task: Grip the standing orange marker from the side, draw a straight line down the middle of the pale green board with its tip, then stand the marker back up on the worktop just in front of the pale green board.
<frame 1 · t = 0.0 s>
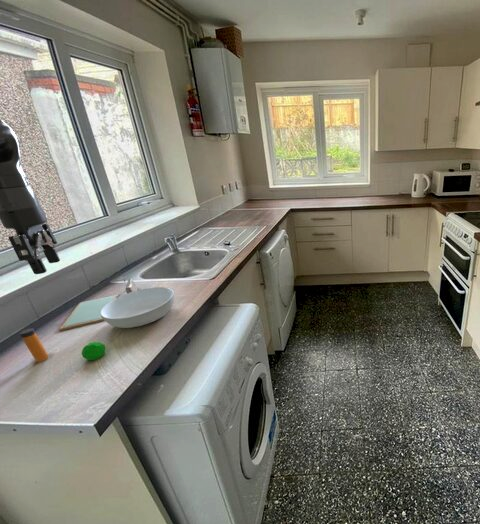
hand: (48, 267, 75), 26 cm above the worktop, tool pointing down, fingers open, 8 cm apart
pale green board: (92, 312, 105), on the worktop
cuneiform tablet: (133, 295, 117), on the worktop
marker: (43, 360, 82), on the worktop
serving bowl: (145, 318, 100), on the worktop
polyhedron: (97, 358, 81), on the worktop
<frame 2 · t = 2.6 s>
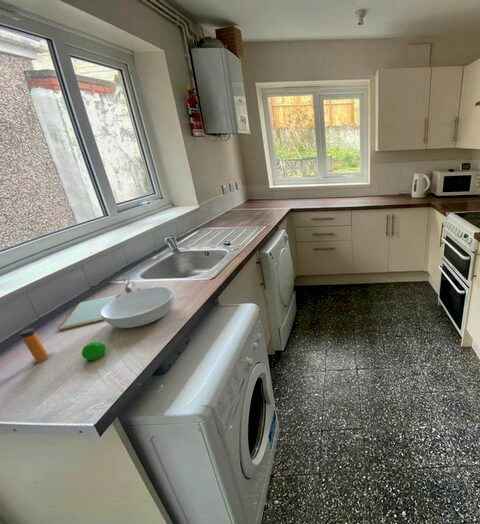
nothing on the worktop moved.
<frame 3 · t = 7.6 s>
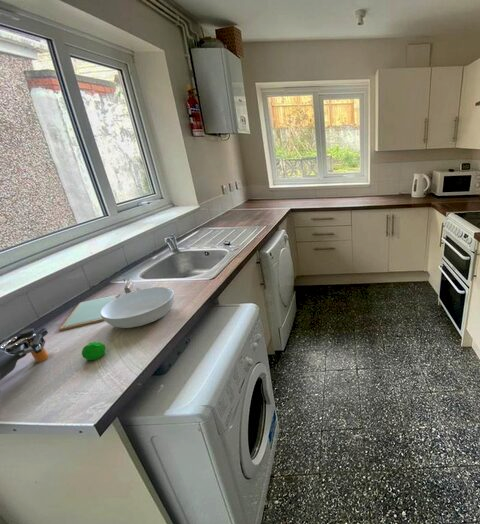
hand: (38, 331, 81), 8 cm above the worktop, tool horizontal, fingers closed on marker, 2 cm apart
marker: (43, 360, 82), on the worktop, touching gripper
everything else where it was.
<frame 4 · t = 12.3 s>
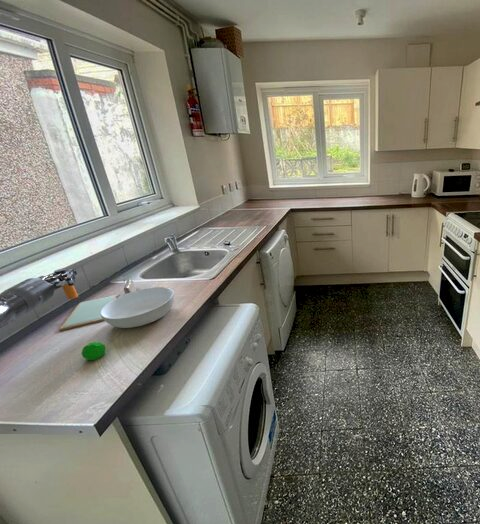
hand: (68, 272, 94), 18 cm above the worktop, tool horizontal, fingers closed on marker, 2 cm apart
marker: (73, 297, 95), point 10 cm above the worktop, touching gripper
everything else where it was.
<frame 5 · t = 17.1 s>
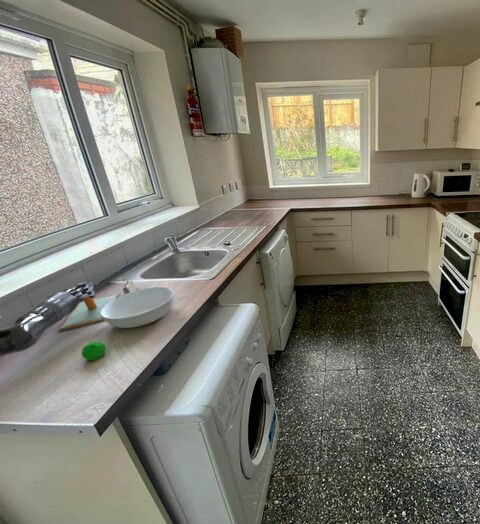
hand: (88, 285, 105), 9 cm above the worktop, tool horizontal, fingers closed on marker, 2 cm apart
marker: (92, 307, 106), point 1 cm above the worktop, touching gripper
everything else where it was.
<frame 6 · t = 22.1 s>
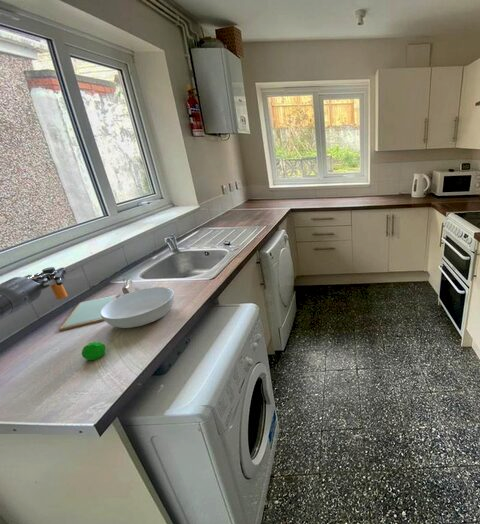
hand: (57, 271, 91), 20 cm above the worktop, tool horizontal, fingers closed on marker, 2 cm apart
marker: (62, 297, 91), point 12 cm above the worktop, touching gripper
everything else where it was.
when the fingers open (8 cm above the worktop, at t = 26.4 s): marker stays where it is, on the worktop.
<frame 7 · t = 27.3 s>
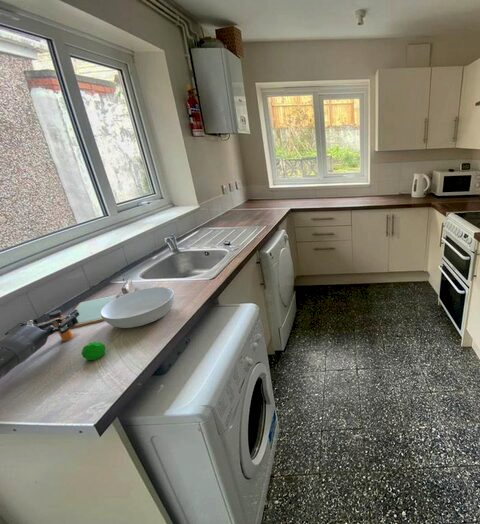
hand: (61, 314, 89), 8 cm above the worktop, tool horizontal, fingers open, 8 cm apart
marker: (68, 339, 90), on the worktop
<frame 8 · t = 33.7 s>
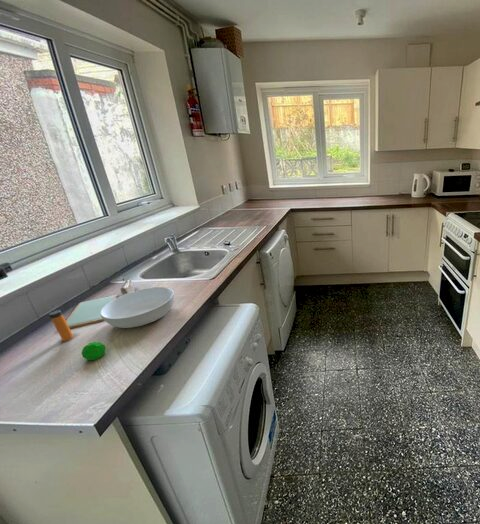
at the end: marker inside the target area on the worktop beside the pale green board (0.1 cm from its centre), on the worktop; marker tilted 0°; the gripper is holding nothing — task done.
